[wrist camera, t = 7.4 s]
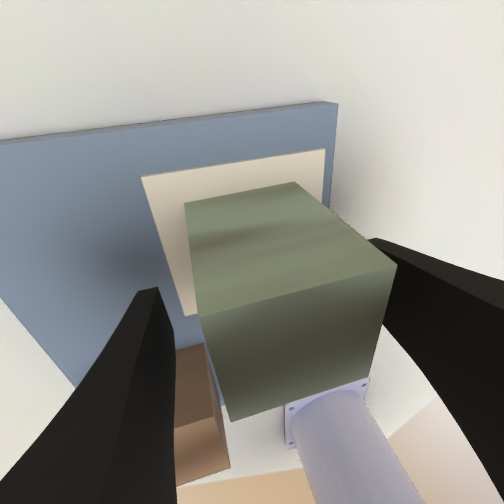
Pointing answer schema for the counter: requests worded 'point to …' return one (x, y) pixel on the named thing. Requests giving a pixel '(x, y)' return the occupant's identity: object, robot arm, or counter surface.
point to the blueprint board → (135, 215)
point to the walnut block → (197, 418)
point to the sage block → (284, 295)
